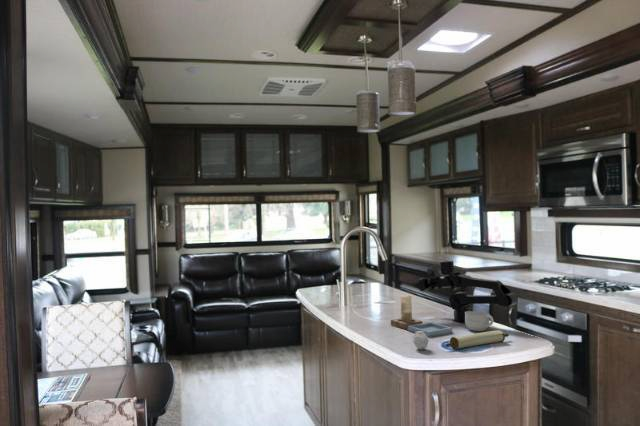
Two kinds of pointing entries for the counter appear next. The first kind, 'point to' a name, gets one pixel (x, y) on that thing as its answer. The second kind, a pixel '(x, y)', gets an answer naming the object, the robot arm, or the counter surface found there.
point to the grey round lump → (420, 340)
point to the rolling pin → (476, 339)
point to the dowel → (406, 309)
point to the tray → (430, 329)
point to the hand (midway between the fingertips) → (418, 284)
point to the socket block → (404, 325)
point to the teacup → (478, 320)
